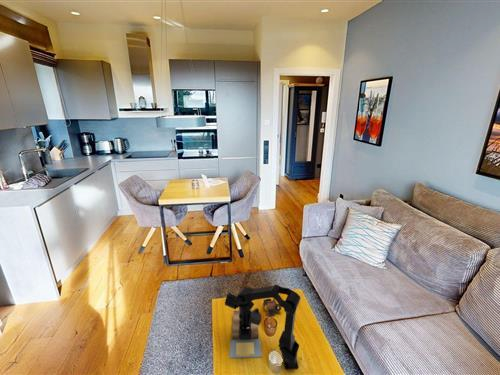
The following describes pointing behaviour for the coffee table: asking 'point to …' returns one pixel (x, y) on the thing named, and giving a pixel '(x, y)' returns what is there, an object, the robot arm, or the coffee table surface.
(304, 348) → the coffee table surface
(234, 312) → the deck
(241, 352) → the bevelled yellow tile
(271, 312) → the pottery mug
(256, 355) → the mat
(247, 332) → the robot arm
